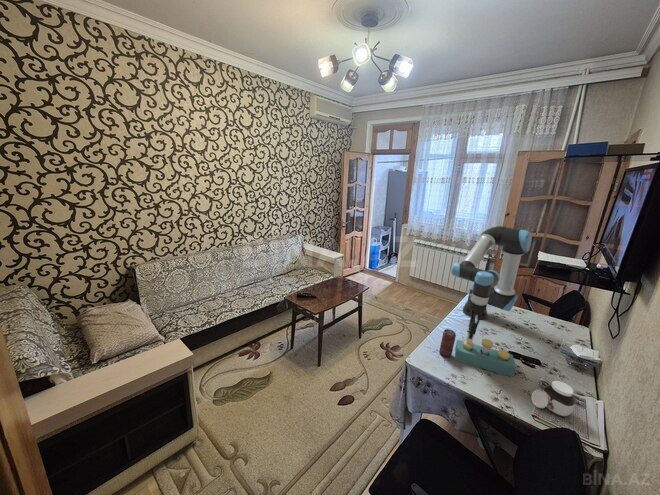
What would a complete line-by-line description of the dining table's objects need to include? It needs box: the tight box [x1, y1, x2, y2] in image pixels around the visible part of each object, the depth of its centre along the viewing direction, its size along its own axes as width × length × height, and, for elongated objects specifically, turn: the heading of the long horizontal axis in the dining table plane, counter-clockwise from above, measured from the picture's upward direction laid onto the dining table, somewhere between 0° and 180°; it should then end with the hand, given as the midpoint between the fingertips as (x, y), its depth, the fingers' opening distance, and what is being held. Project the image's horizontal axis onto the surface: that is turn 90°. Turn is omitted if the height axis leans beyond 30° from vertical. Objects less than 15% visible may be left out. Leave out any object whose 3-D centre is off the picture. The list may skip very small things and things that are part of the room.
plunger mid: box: [481, 338, 494, 355], centre depth 136 cm, size 5×5×8 cm
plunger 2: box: [497, 349, 511, 361], centre depth 134 cm, size 5×5×8 cm
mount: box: [454, 339, 517, 378], centre depth 138 cm, size 10×26×6 cm, turn 65°
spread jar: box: [530, 380, 576, 417], centre depth 112 cm, size 12×11×12 cm
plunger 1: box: [463, 339, 475, 350], centre depth 140 cm, size 5×5×8 cm
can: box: [438, 328, 457, 359], centre depth 141 cm, size 6×6×14 cm
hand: (468, 342), depth 139 cm, fingers closed
